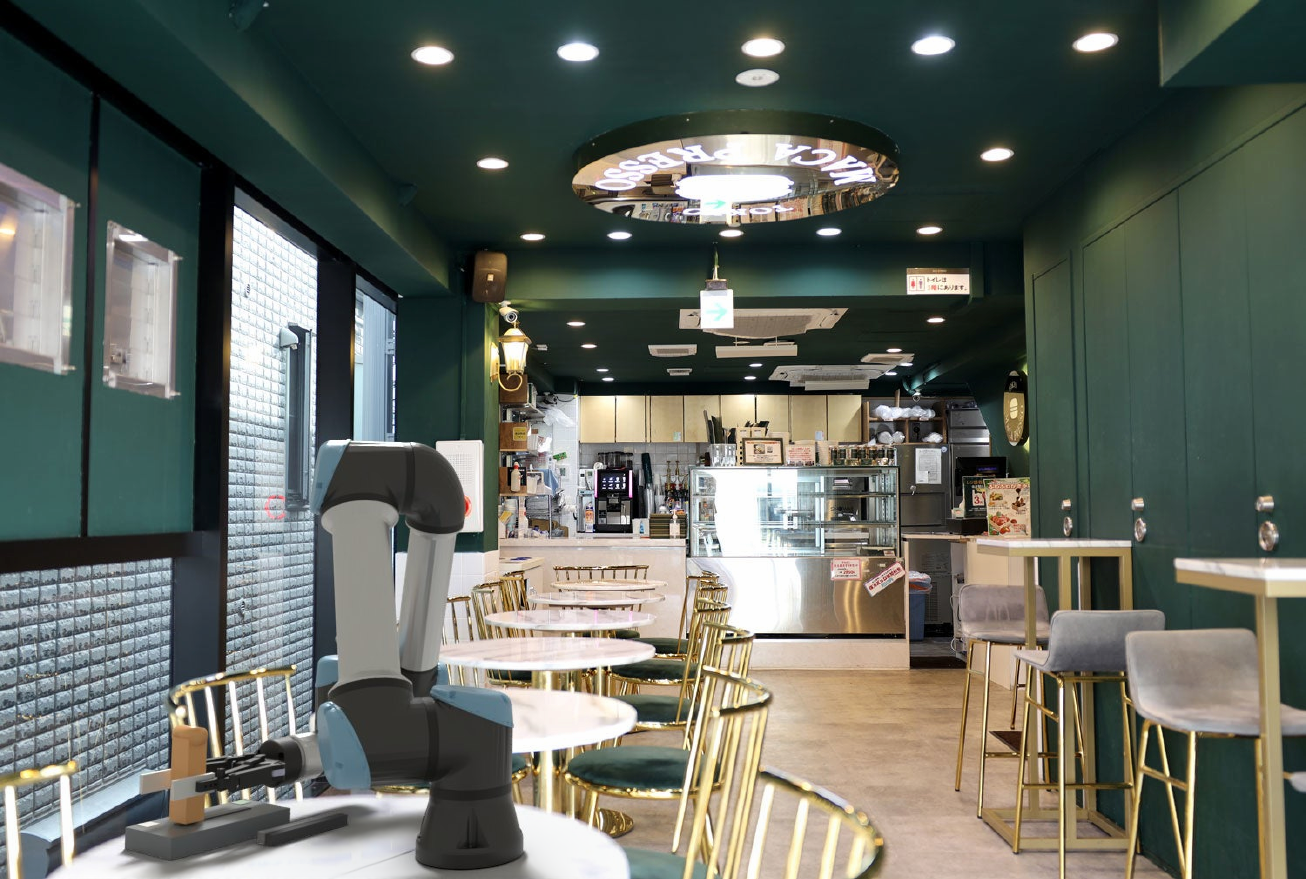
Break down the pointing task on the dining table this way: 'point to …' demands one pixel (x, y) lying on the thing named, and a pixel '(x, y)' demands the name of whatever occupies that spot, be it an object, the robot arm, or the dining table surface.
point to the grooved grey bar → (302, 828)
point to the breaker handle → (188, 770)
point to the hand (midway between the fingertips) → (156, 787)
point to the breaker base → (205, 829)
